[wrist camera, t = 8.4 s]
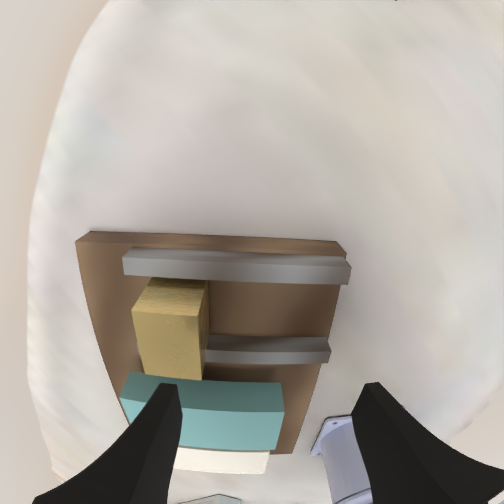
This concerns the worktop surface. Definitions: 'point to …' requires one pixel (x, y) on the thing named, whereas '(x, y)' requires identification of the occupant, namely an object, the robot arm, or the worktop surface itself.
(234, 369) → the panel
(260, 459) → the white rectangular block
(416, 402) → the worktop surface
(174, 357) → the brass slider
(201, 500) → the skincare box
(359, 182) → the worktop surface
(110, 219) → the worktop surface
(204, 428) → the teal button
